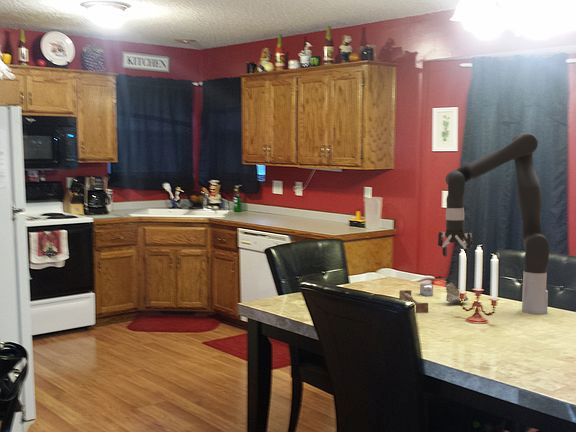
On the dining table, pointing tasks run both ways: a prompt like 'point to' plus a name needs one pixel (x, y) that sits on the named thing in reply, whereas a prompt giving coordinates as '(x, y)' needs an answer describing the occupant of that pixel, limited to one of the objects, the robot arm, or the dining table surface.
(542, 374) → the dining table surface
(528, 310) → the robot arm
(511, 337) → the dining table surface
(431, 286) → the tin
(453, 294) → the rock
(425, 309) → the stand
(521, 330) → the dining table surface
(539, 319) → the dining table surface
